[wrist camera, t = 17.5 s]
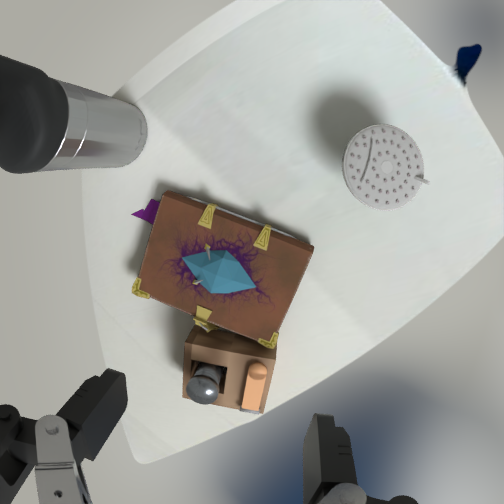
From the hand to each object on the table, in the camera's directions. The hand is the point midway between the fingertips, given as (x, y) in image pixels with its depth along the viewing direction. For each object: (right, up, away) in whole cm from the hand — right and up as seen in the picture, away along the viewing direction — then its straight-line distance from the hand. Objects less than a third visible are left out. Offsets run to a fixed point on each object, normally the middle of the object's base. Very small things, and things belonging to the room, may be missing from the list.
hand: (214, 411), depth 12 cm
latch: (+2, -12, +29) cm, 31 cm away
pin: (-4, -9, +34) cm, 36 cm away
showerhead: (+17, +17, +25) cm, 35 cm away
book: (-4, +5, +31) cm, 32 cm away
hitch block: (-1, -10, +34) cm, 35 cm away
